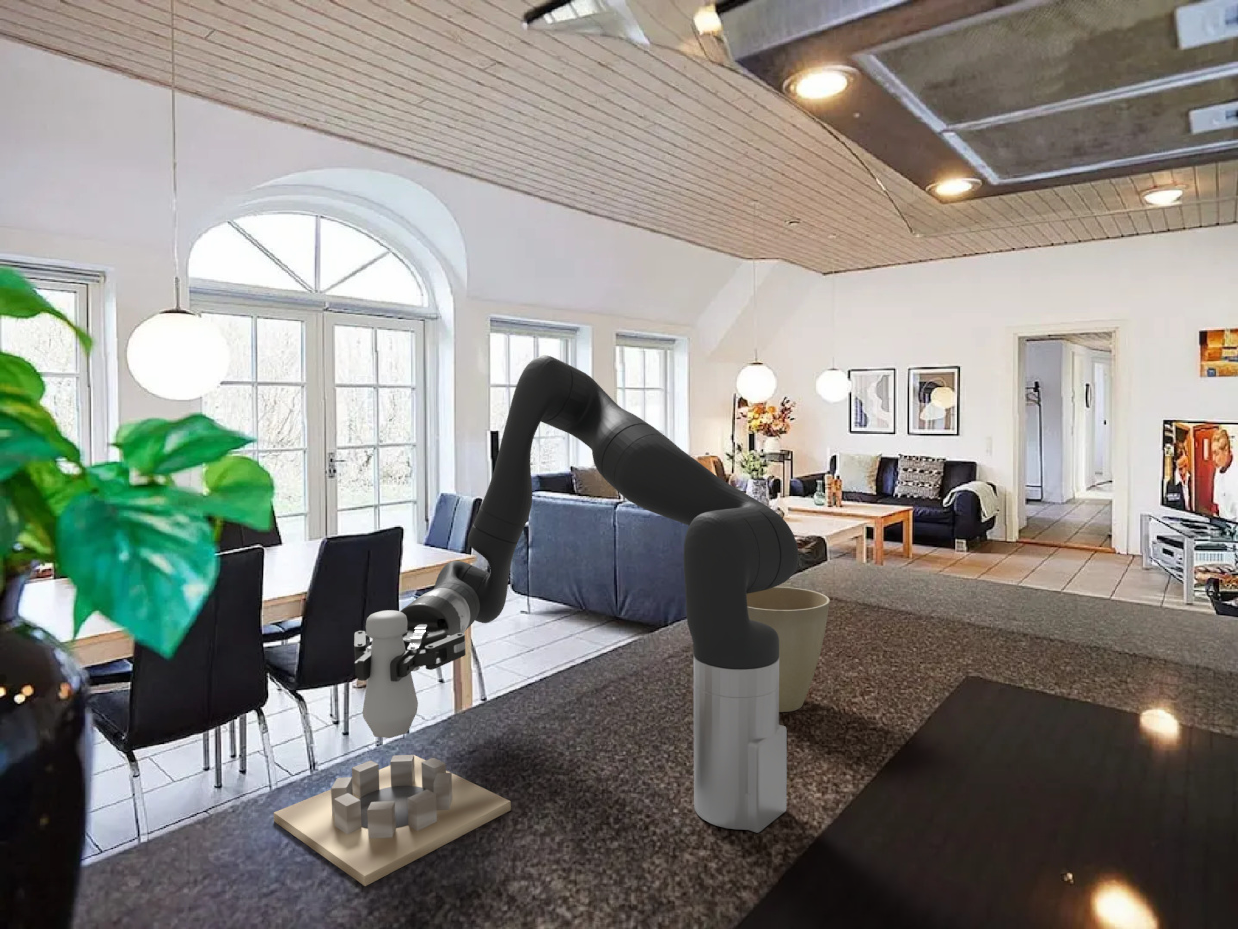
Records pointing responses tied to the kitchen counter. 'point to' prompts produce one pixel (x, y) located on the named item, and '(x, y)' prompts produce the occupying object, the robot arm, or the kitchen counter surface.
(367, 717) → the salt shaker
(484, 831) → the kitchen counter surface
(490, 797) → the stonehenge model
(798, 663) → the plant pot
